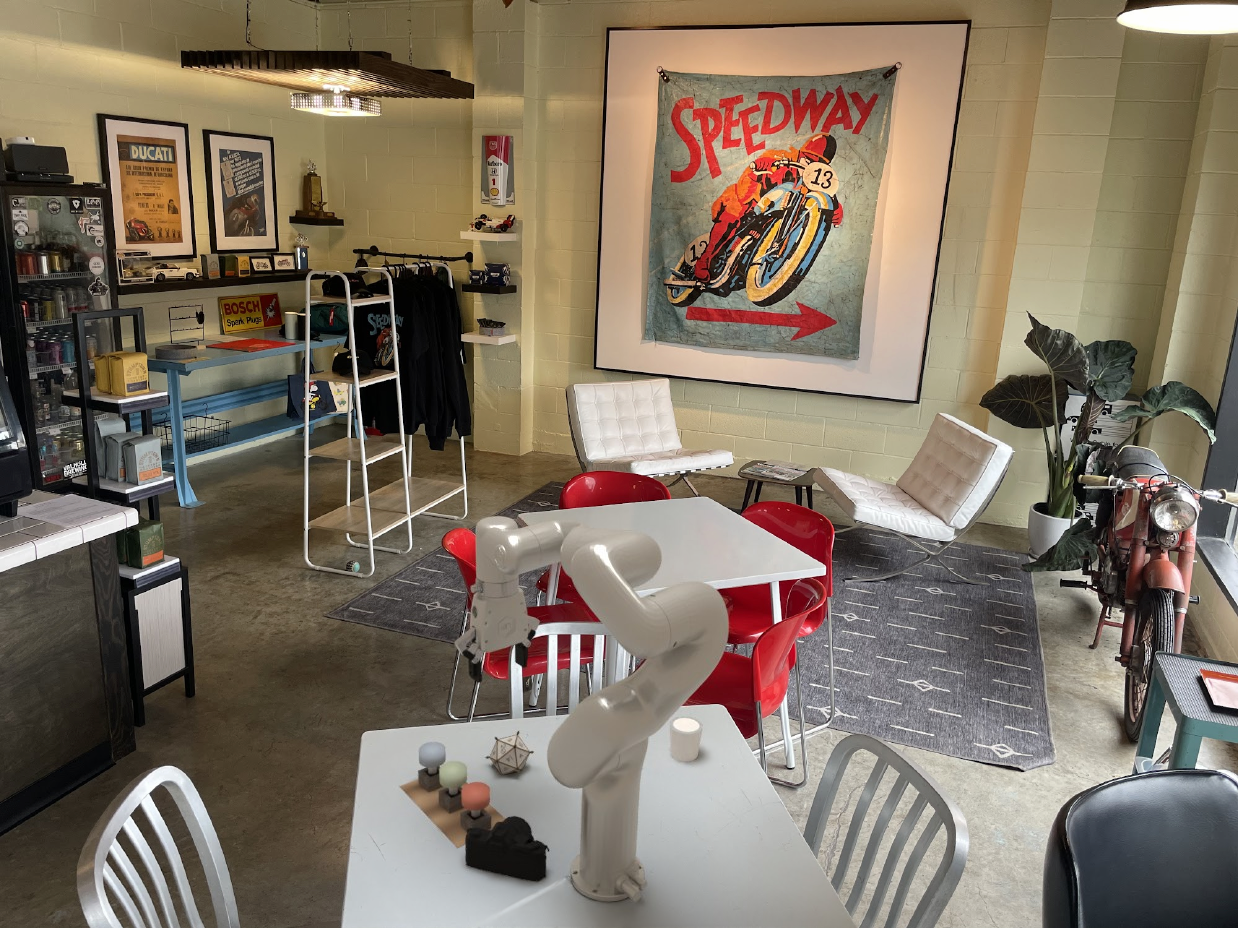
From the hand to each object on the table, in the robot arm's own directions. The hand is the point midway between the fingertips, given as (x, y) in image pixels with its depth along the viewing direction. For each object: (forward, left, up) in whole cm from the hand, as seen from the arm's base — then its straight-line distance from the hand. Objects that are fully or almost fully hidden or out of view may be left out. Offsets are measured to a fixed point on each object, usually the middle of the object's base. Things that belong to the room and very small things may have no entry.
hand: (498, 672), depth 171 cm
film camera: (-17, +8, -27) cm, 33 cm away
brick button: (-6, +9, -23) cm, 25 cm away
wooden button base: (+2, +9, -27) cm, 28 cm away
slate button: (+10, +9, -23) cm, 26 cm away
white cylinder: (-10, -39, -27) cm, 49 cm away
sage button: (+2, +9, -23) cm, 24 cm away
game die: (+6, -6, -27) cm, 28 cm away
